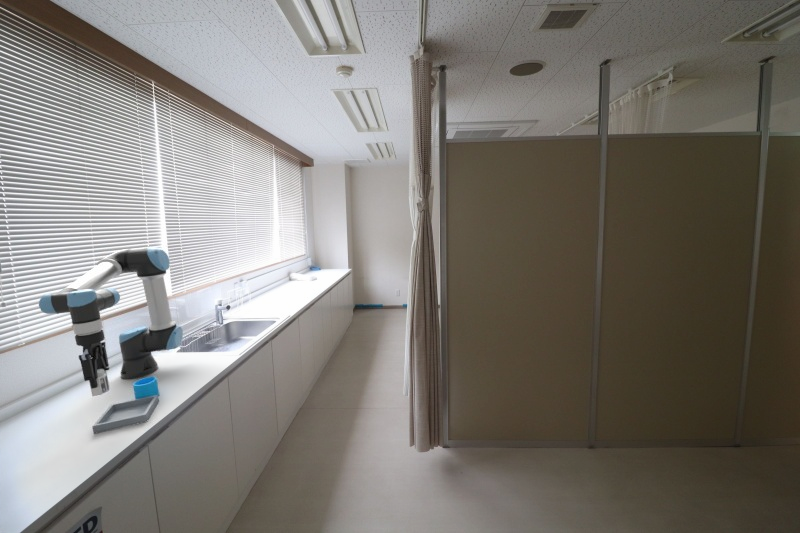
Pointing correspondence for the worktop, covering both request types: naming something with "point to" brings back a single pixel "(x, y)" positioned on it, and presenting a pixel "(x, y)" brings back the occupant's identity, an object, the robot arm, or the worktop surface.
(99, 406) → the worktop surface
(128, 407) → the tray
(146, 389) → the mug
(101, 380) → the pill bottle
